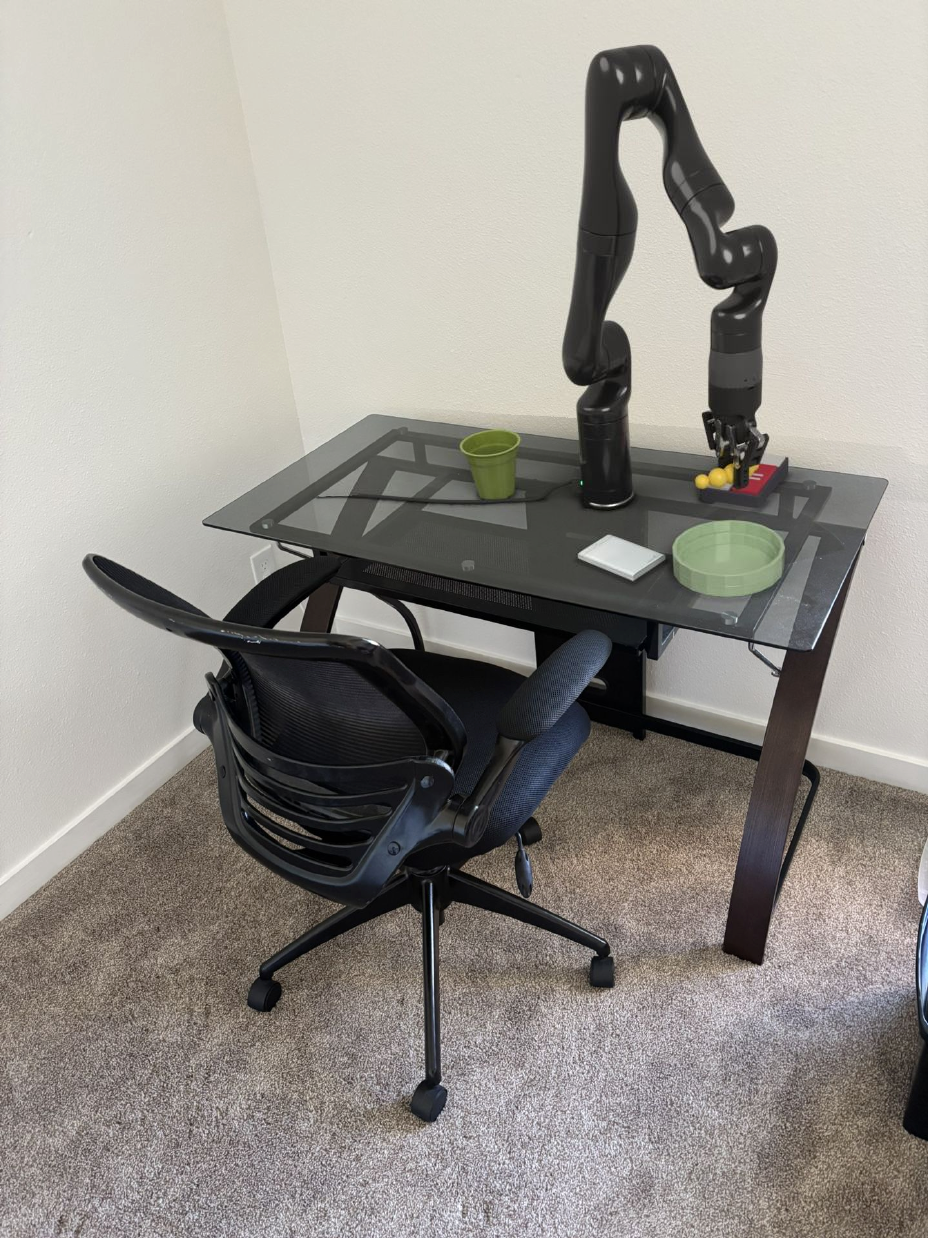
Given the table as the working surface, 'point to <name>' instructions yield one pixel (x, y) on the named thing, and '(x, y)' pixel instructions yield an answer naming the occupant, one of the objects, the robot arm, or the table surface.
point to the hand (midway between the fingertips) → (733, 482)
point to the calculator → (751, 484)
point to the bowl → (728, 558)
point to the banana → (719, 477)
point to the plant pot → (492, 462)
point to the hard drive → (621, 557)
